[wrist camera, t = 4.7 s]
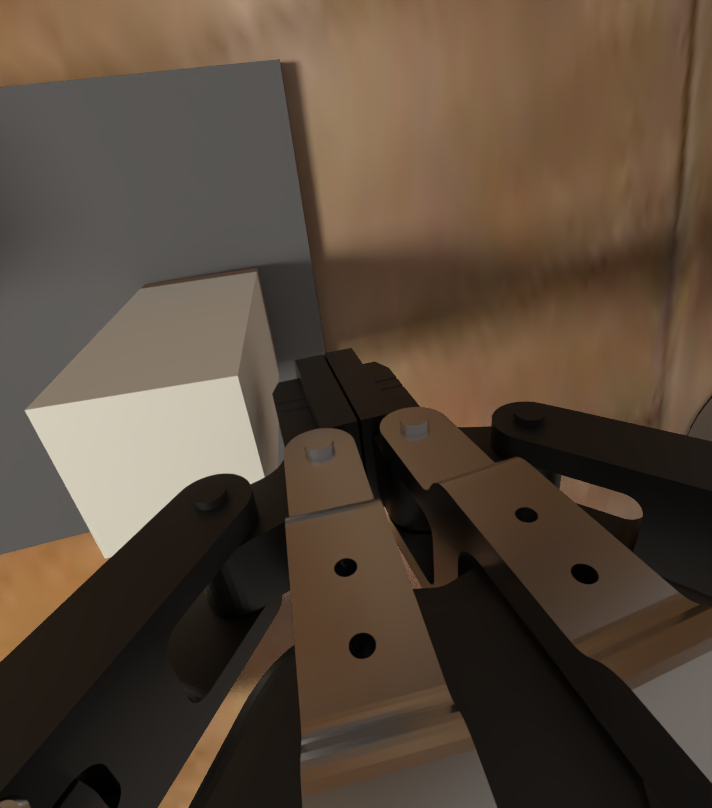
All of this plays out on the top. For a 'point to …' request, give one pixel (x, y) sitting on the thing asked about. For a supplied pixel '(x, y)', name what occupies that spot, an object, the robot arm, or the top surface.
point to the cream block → (164, 401)
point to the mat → (134, 235)
